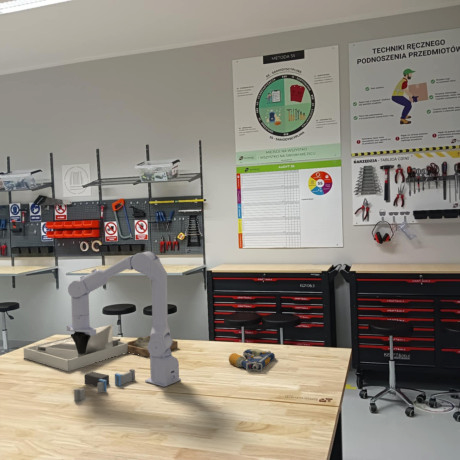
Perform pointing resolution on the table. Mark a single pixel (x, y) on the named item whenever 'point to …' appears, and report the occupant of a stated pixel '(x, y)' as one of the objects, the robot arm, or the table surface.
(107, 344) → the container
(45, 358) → the container tray
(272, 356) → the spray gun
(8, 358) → the table surface
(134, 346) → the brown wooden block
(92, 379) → the charcoal brick
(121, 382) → the blue capped pillar
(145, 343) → the rock sample
